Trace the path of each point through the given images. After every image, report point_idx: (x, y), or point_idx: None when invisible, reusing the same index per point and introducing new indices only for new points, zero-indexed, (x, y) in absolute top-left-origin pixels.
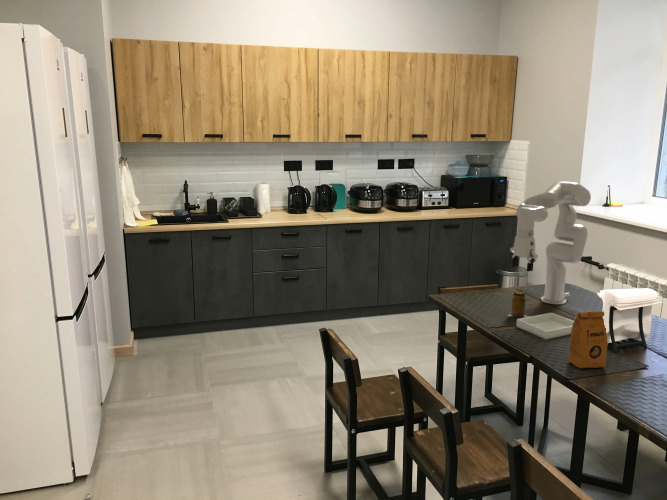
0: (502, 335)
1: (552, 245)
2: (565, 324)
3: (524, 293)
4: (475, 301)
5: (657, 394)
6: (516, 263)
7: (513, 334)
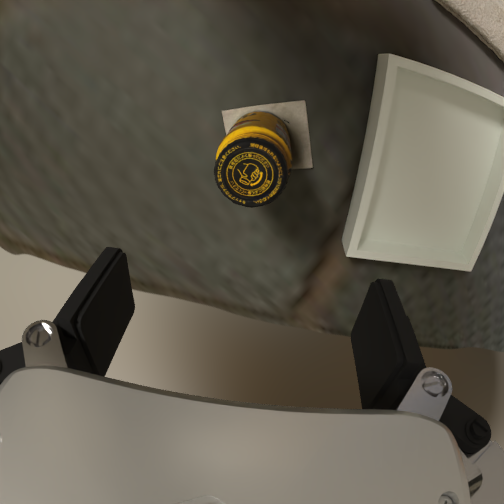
0: None
1: None
2: (458, 89)
3: (280, 160)
4: (46, 161)
5: None
6: (114, 297)
7: None
